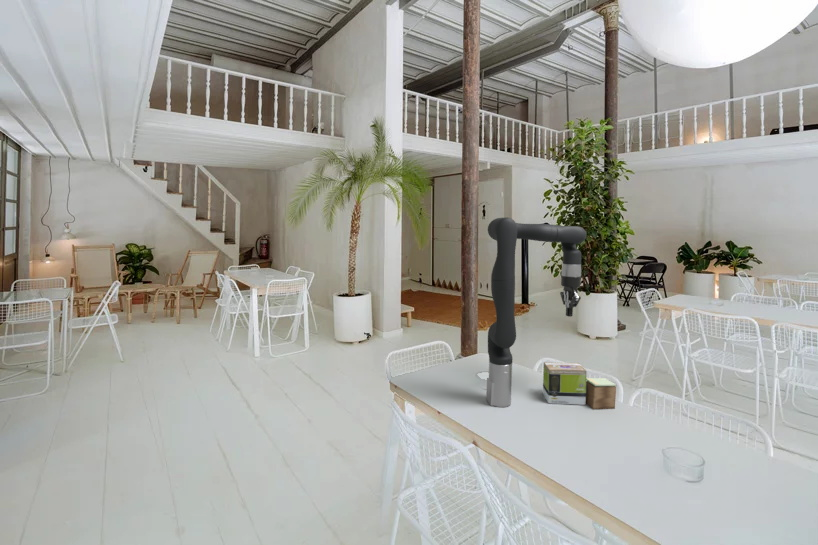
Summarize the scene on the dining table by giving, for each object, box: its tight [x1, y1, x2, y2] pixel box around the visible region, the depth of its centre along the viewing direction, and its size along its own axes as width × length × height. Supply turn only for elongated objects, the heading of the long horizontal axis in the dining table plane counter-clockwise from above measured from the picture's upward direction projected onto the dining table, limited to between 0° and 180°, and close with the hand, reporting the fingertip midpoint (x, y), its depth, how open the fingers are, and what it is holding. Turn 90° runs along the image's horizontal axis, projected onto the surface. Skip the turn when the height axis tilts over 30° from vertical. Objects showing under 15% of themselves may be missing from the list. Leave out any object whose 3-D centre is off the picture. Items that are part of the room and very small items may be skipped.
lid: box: [586, 377, 617, 387], centre depth 164 cm, size 9×7×1 cm
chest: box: [585, 380, 617, 410], centre depth 165 cm, size 9×7×9 cm
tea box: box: [542, 361, 587, 406], centre depth 170 cm, size 15×10×15 cm
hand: (569, 316), depth 170 cm, fingers closed
